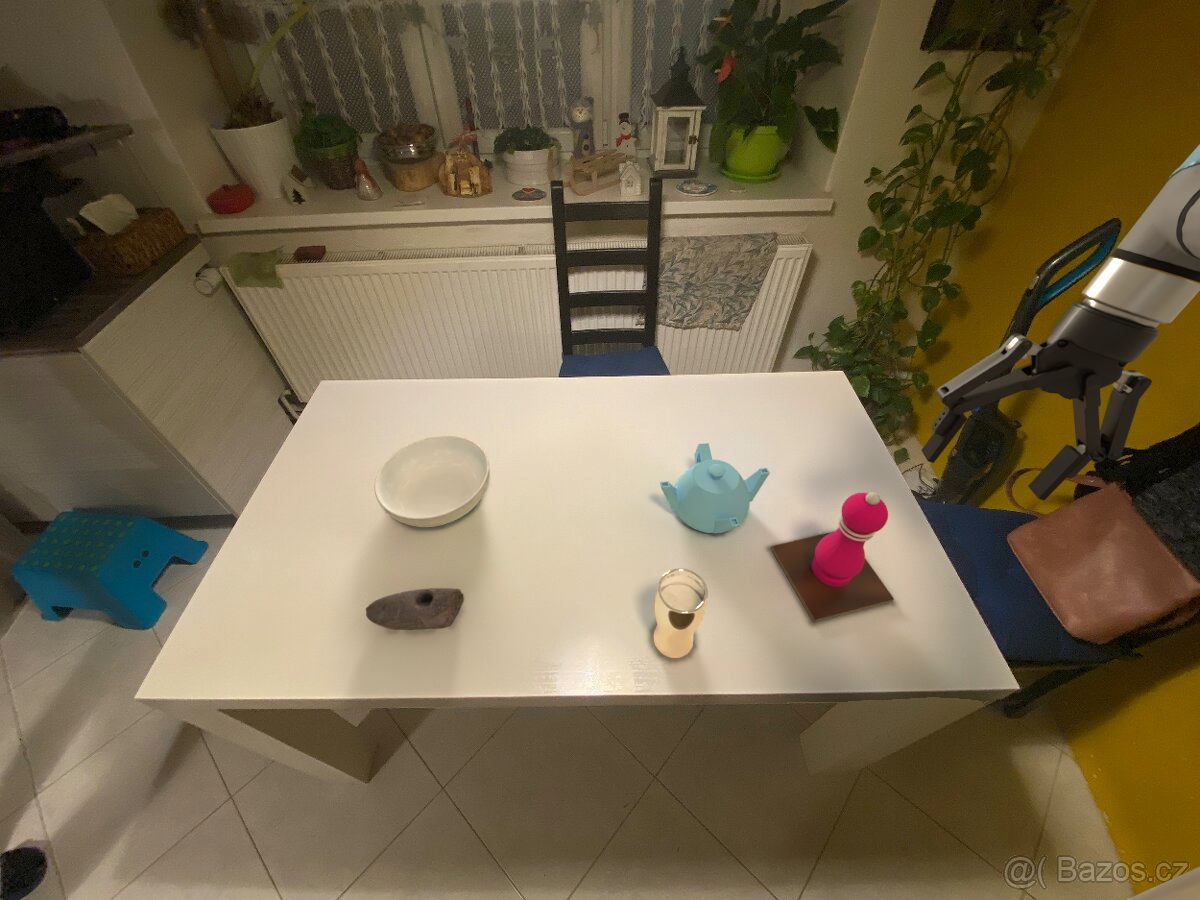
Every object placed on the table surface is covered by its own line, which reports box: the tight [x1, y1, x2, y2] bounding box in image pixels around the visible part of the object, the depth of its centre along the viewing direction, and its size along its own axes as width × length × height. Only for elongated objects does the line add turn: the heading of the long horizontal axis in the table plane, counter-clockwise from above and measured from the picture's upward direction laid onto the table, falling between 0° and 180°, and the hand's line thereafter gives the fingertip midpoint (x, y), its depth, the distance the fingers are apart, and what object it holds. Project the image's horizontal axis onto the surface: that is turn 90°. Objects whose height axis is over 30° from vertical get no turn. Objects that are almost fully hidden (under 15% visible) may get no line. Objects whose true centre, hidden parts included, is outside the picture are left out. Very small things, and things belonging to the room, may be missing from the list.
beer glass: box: [653, 567, 709, 659], centre depth 73 cm, size 7×7×15 cm
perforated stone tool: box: [365, 587, 464, 630], centre depth 78 cm, size 15×5×7 cm, turn 92°
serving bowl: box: [373, 434, 491, 528], centre depth 96 cm, size 21×21×7 cm
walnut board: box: [770, 531, 895, 623], centre depth 85 cm, size 14×14×1 cm
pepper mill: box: [812, 491, 889, 587], centre depth 77 cm, size 7×7×20 cm
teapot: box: [659, 442, 770, 534], centre depth 92 cm, size 15×15×11 cm
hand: (980, 475), depth 63 cm, fingers open, 13 cm apart
